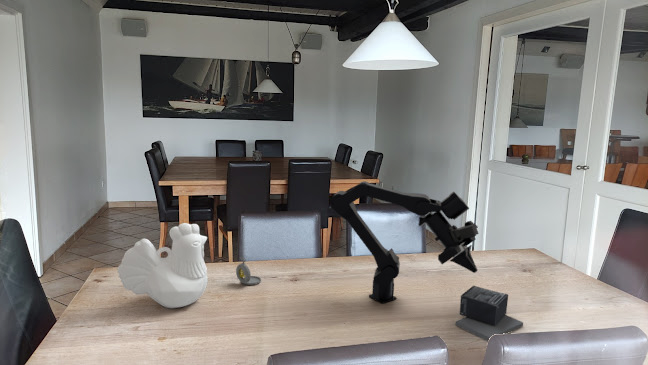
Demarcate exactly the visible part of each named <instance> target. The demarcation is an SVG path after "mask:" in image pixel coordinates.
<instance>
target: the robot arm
mask: <svg viewBox="0 0 648 365" xmlns="http://www.w3.org/2000/svg"><path fill="white" fill-rule="evenodd" d="M363 196H365V197H368V198H373V199H376V200H380V201H383V202H387V203H389V204H394V205H397V206H400V207H401V208H404V209H406V210H407V211H408V212H411V213H412V214H415V215H417V216H419V218H418V219H419V220H418V226H420V227H423V225H426V226H427V227H428V228H429V230H430V231H431V232H432V234H433V235H434V236H435V238H434V240H435V241H436V242H438V241H439V242H440V244H441V245H442V246H443V247H444V249H443V251H442V252H441V253H439V254H438V257H437V260H438V261H439V263H440V264H441V265H444V264H446V263H447V262H448V261H450V262H452V263H455V264H457V265H459V266H461V267H462V268H464V269H466V270H468V271H470V272H472V273H473V274H475V273H477V272H478V268H477V265H476V263H475V261H474V259H473V256H472V254H471V252H472V246H473V244H471V243H473V242H474V241H476V236H477V235H479V231H478V225H476V223H474V222H473V221H472V220H469V221H466V222H465V223H464V225H463V226H462V227H459V228H458V227H457V225H454V224H451V223H450V222H449V221H448V220H456V219H458V218H459V217H460V216H461V215H463V214H464V213H466V212H467V211H468V210H469V209H470V207H469V206H468V205H467V203H466V202H465V201H464V200H463V198H462V197H460V196H459V195H458V194H457V193H456V192H455V191H452V192H451V193H450V194H449V195H448V196H447V197H446V198H444V199H443V200H441V201H440V200H437V199H434V198H430V197H429V196H428V195H427V194H424V193H418V192H403V191H398V190H395V189H391V188H388V187H384V186H381V185H377V184H373V183H369V182H368V181H366V180H365V181H360V182H359V183H358V184H356V185H355V186H352V187H351V188H348V189H346V190H345V191H344V190H339V191H337V192H336V193H335V194H333V196H332V197H331V198H330V200H329V205H330V208H331V209H332V210H333V211H334V212H335V213H336V215H338V216H339V217H341V218H342V219H343V220H345V222H347V223H348V224H349V225H350V227H351V229H352V230H353V231H354V232H355V233H356V234H357V236H358V238H360V239H359V240H361V241H362V243H363V244H364V245H365V247H366V248H367V250H368V251H369V252H370V253H371V255H372V256H373V259H374V261H375V264H376V266H377V267H376V268H375V270H374V275H373V280H372V290H371V291H372V293H371V294H368V297H369V298H371V299H373V300H375V301H376V302H378V303H380V304H384V303H388V302H392V301H394V300H397V297H396V296H394V293H395V292H394V291H395V282H394V280H395V279H396V278H397V277H398V275H400V267H401V266H400V265H401V262H400V257H399V256H398V255H397V254H396V253H395V251H394V249H393V248H390V249H389V250H388V249H387V248H386V247H384V245H382V243H381V242H380V241H379V239H378V238H377V237H376V235H375V233H374V232H373V231H372V230H371V228H370V227H369V226H368V224H367V223H366V221H365V220H364V219H363V218H362V217H361V215H360V214H359V213H358V210H357V208H356V206H355V202H356V200H359V199H360V198H362V197H363Z"/></svg>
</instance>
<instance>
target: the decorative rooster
mask: <svg viewBox="0 0 648 365" xmlns="http://www.w3.org/2000/svg"><path fill="white" fill-rule="evenodd" d="M169 236H170V238H171V240H172V243H171V248H169V247H166V246H161V247H159V248H158V249H157V248H156V247H155V246H154V244H153V243H152V242H151V241H150V240H149V239H147V238H141V239H140V240H139V241H136V242H135V243H134V245H133V247H130V248H129V249H127V251H125V252H124V255H123V257H122V259H121V262H120V264H119V265H118V267H117V269H116V270H117V273H118V278H119V279H120V281H121V284H122V286H123V288H124V289H125V290H128V291H132V293H133V294H135V295H145V294H146V295H147V296H148V297H150V299H152V300H153V301H155V302H156V303H158V304H159V305H161V306H162V307H165V308H167V309H176V308H181V307H186V306H189V305H191V304H193V303H195V302H196V301H197V300H198V299H200V298H201V296H202V295H203V294H204V292H206V291H205V290H206V288H207V285H208V279H209V278H208V268H207V264H206V263H205V260H204V258H205V252H204V249H205V244H206V241H207V239H208V237H207V236H205V235H201V234H200V226H199V225H198V224H197V223H192V224H190V223H187V222H183V223H180V224H178V226H173V227H171V228H170V230H169ZM163 252H166V253H167V256H165V257H162V256H161V253H163Z"/></svg>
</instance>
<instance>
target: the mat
mask: <svg viewBox="0 0 648 365" xmlns="http://www.w3.org/2000/svg"><path fill="white" fill-rule="evenodd" d="M454 325H455V326H456V327H458V328H461V329H462V330H464V331H466V332H469V333H470V334H472V335H474V336H477V337H478V338H480V339H482V340H485V341H486V342H488V340H489V338H490V337H491V336H492V335H494V334H503V333H508V332H510V333H512V332H514V331H515V330H518V329H520V328H522V327H524V322H523V321H521V320H518V319H516V318H514V317H511V316H510V315H507V314H505V315H504V316H503V318H502V319H501V320H500V321H499V322H498V323H497V324H496V325H495V326H494V325H492V324H488V323H485V322H482V321H479V320H475V319H472V318H469V317H465V316H464V317H462V318H460V319H457V320H456V321H455V324H454ZM511 331H512V332H511ZM508 334H509V333H508Z"/></svg>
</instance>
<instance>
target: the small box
mask: <svg viewBox="0 0 648 365" xmlns="http://www.w3.org/2000/svg"><path fill="white" fill-rule="evenodd" d="M508 301H509V294H508V293H502V292H499V291H495V290H491V289H489V288H488V289H487V288H484V287H480V286H476V285H472V286H471V287H470V288H469V289H467V290H466V291H465V292H463V293H462V294H461V295H460V303H459V304H460V305H459V315H460V316H462V317H464V318H465V317H469V318H472V319H475V320H479V321H482V322H485V323H488V324H492V325H494V326H495V325H496V324H497V323H498V322H499V321H500V320H501V319H502V318H503V316H504V315H507V308H508Z"/></svg>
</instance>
